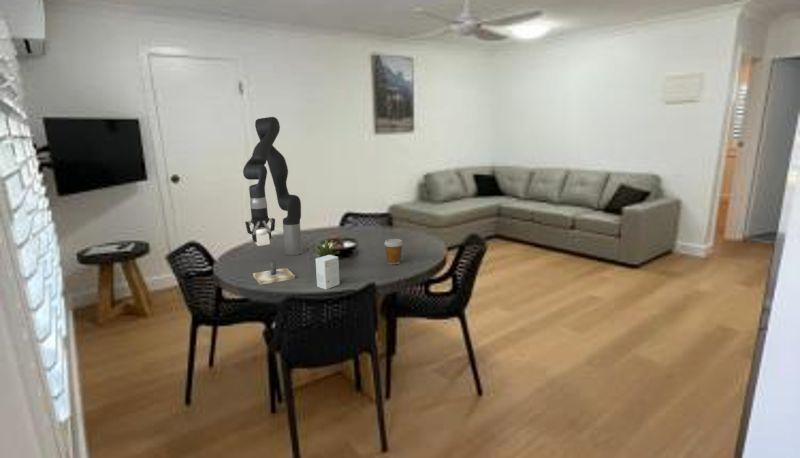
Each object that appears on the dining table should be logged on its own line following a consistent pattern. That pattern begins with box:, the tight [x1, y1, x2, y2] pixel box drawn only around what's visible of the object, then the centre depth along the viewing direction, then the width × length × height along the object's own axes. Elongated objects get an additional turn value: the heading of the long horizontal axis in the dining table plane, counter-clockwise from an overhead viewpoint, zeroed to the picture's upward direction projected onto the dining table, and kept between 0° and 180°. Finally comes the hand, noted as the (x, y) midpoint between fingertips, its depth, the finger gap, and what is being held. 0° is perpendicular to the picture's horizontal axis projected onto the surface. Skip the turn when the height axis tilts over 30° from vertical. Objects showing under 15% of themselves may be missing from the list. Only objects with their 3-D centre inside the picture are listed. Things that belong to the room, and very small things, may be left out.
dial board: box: [252, 261, 296, 286], centre depth 209 cm, size 16×14×8 cm
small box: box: [315, 254, 340, 290], centre depth 196 cm, size 8×6×13 cm
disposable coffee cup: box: [383, 238, 404, 263], centre depth 228 cm, size 10×10×12 cm
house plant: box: [315, 238, 341, 258], centre depth 214 cm, size 14×14×16 cm
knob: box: [254, 227, 271, 247], centre depth 215 cm, size 6×6×8 cm
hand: (262, 240), depth 215 cm, fingers closed on knob, 6 cm apart
